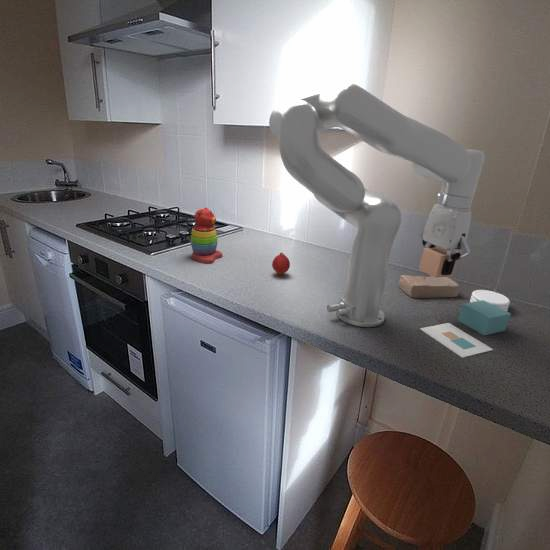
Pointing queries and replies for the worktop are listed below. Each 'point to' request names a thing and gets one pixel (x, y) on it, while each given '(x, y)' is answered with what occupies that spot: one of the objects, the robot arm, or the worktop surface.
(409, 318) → the worktop surface
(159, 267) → the worktop surface
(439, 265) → the clay block
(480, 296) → the coaster
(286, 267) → the onion
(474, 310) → the base block
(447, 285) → the brick
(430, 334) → the page
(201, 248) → the stacking bear
